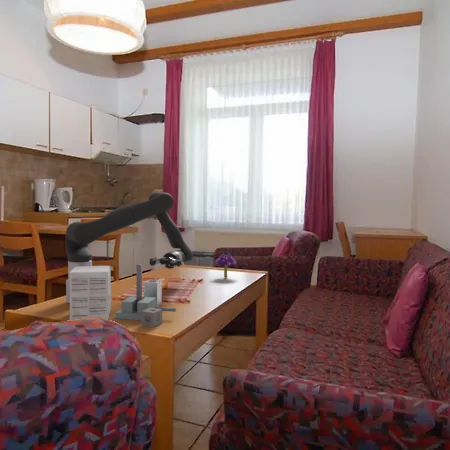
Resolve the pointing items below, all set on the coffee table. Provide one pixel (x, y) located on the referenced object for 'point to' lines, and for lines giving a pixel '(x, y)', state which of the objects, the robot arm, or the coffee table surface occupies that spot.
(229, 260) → the decorative mushroom
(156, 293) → the steel sleeve
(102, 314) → the supplement box
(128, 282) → the coffee table surface
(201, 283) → the coffee table surface
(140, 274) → the vise
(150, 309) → the dice cube
